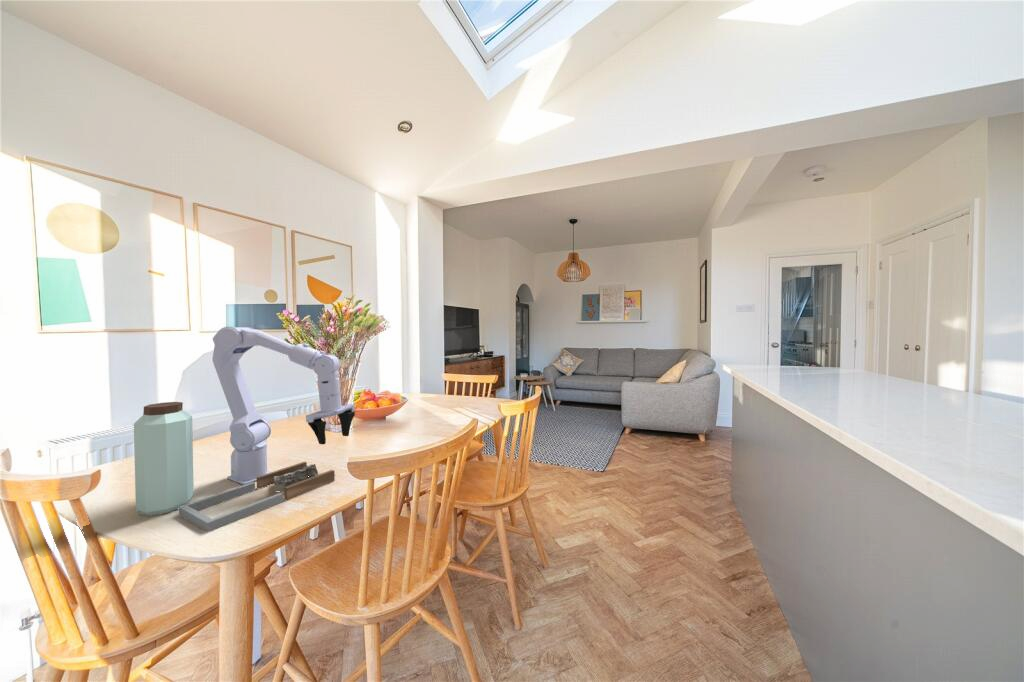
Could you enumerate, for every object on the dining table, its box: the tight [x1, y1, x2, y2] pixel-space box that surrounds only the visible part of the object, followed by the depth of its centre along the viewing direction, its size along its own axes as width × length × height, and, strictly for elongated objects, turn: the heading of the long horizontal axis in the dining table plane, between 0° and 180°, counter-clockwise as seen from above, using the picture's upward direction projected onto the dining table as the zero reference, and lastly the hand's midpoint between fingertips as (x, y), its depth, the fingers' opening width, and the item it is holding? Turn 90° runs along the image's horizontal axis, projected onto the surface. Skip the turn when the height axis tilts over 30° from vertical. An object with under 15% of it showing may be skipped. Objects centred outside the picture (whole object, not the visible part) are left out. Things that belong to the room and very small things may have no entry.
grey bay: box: [178, 481, 284, 533], centre depth 84 cm, size 14×15×2 cm
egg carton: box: [273, 463, 319, 493], centre depth 98 cm, size 11×8×4 cm
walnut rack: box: [256, 461, 335, 501], centre depth 98 cm, size 14×13×3 cm
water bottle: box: [133, 401, 195, 517], centre depth 85 cm, size 10×10×25 cm
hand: (334, 439), depth 105 cm, fingers open, 7 cm apart
